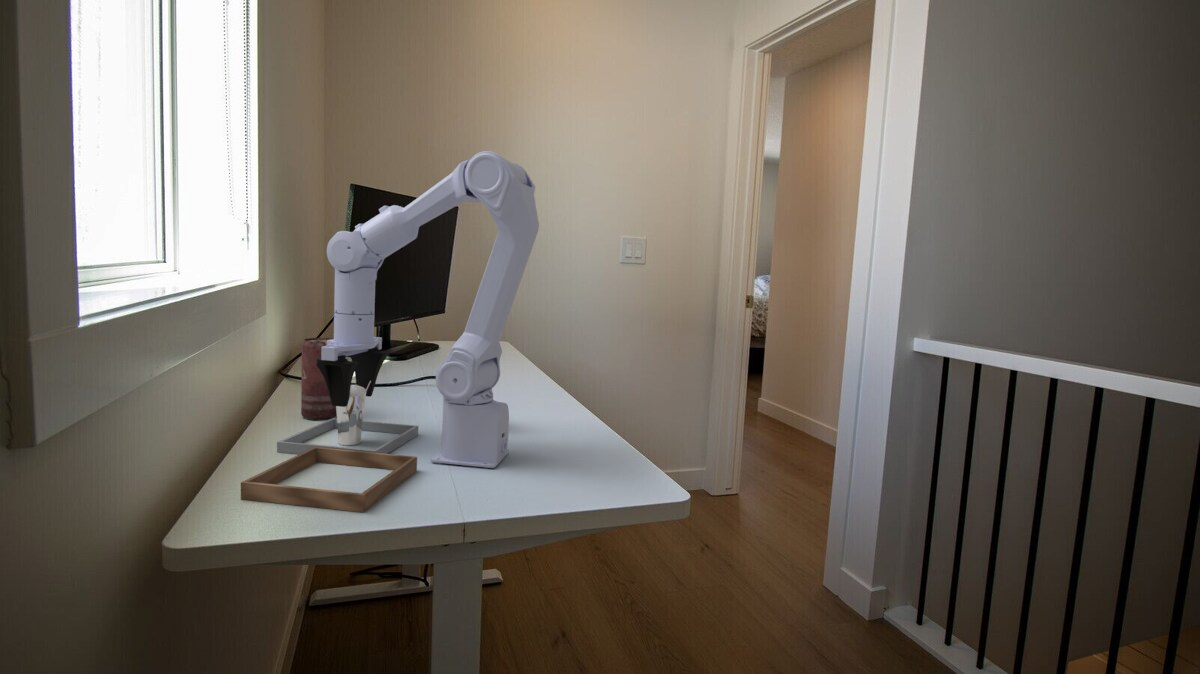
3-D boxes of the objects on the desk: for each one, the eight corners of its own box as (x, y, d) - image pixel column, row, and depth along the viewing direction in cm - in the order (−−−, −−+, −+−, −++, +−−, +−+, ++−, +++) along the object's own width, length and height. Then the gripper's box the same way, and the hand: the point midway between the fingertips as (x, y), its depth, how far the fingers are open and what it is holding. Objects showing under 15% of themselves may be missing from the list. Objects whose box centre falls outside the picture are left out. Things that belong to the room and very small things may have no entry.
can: (313, 422, 106) (314, 342, 104) (294, 415, 109) (295, 338, 108) (346, 417, 110) (347, 340, 109) (327, 410, 114) (328, 336, 113)
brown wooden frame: (416, 470, 85) (417, 456, 85) (363, 512, 70) (363, 495, 70) (314, 460, 86) (314, 446, 86) (240, 499, 72) (240, 482, 71)
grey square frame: (418, 434, 102) (418, 425, 102) (375, 461, 88) (375, 451, 87) (332, 426, 104) (333, 418, 104) (276, 452, 89) (276, 442, 89)
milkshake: (363, 448, 93) (364, 383, 92) (328, 445, 93) (329, 381, 92) (375, 439, 98) (376, 378, 97) (341, 437, 98) (342, 376, 97)
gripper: (353, 308, 101) (352, 389, 103) (301, 314, 87) (300, 408, 88) (394, 311, 100) (392, 393, 102) (348, 317, 86) (347, 412, 88)
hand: (352, 400), depth 95 cm, fingers open, 7 cm apart
